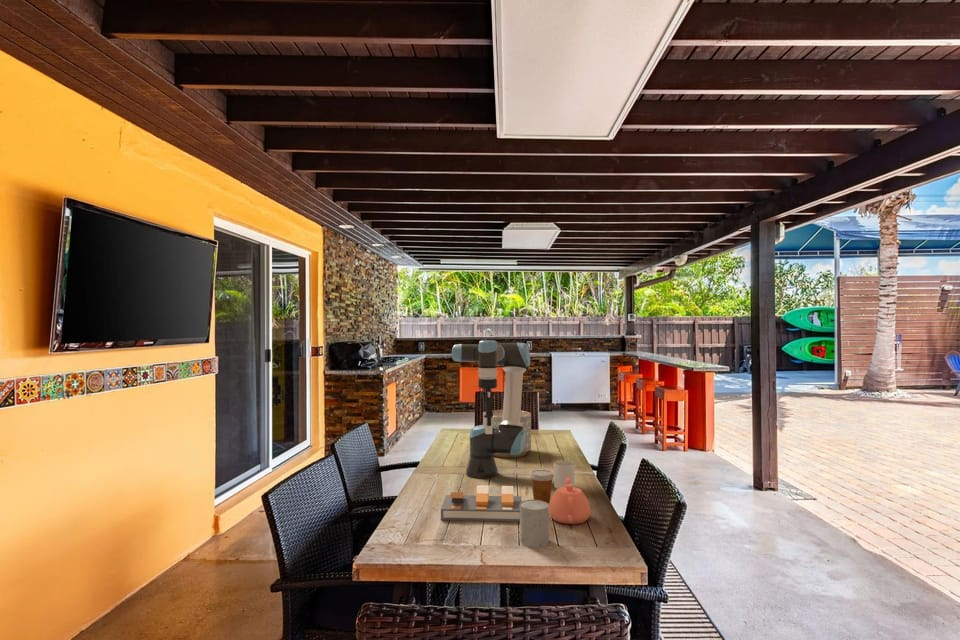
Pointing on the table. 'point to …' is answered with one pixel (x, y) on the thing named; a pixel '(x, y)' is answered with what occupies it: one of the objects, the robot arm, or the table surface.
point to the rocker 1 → (457, 495)
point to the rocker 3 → (507, 496)
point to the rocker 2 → (482, 495)
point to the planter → (526, 423)
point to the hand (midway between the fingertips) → (487, 430)
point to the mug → (563, 473)
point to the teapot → (569, 505)
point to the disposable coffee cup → (541, 484)
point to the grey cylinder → (534, 523)
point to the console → (479, 509)
